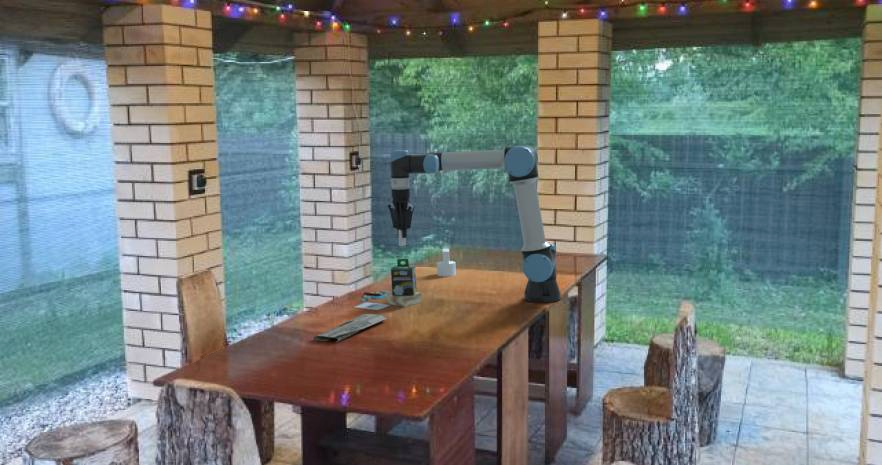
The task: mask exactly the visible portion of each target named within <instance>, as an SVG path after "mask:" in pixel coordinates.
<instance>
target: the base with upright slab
mask: <svg viewBox="0 0 882 465" xmlns="http://www.w3.org/2000/svg"><path fill="white" fill-rule="evenodd" d="M456 265H457V264H456V261H453V260H450V248H442V261H441V260H440V261H438V262H436V275H437V277H442V276H443V277H444V278H445V277H454V276H456V275H457V270H456V268H457V267H456Z"/></svg>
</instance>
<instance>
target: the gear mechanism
mask: <svg viewBox="0 0 882 465" xmlns="http://www.w3.org/2000/svg"><path fill="white" fill-rule="evenodd" d="M389 293H390V290H383V289H382V290H379V285H377V286H376V291H371V292H363V297H362V299H361V300H360V302H363V303H365V302H366V301H371V299H376V300H379V299H383V298H384V297H385V298H386V297H387V294H389Z"/></svg>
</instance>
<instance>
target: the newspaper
mask: <svg viewBox="0 0 882 465" xmlns="http://www.w3.org/2000/svg"><path fill="white" fill-rule="evenodd" d="M387 319H388V317H385V316H384V315H380V314H373V313H366V314H365V313H364V314H361V315H359V316H357V317H354V318H352V319H350V320H348V321H345V322H344V323H342V324H339V325H336V326H335V327H332V328H331V329H328V330H326V331H324V332H322V333H319V334H317V335H315V336H314V337H312V338H313V339H312V340H313V341H322V342H327V341H330V340H332V339H336V341H335V343H336V344H337V343H338V342H340V341H343V340H344V339H346V338H348V337H350V336H352V335H355V334H356V333H357V334H358V333H359V332H361V331H363V330H365V329H367V328H370V327H372V326H373V325H376V324H378V323H380V322H382V321H384V320H387Z"/></svg>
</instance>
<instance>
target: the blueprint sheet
mask: <svg viewBox="0 0 882 465" xmlns="http://www.w3.org/2000/svg"><path fill="white" fill-rule="evenodd" d="M390 306H391V304H385V303H376V302H375V303H373V302H366V301H365V302H363V303H360V304H358V305H356V306H353V308H355V309H362V310H372V311H379V310H382V309H385V308H387V307H390Z"/></svg>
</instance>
